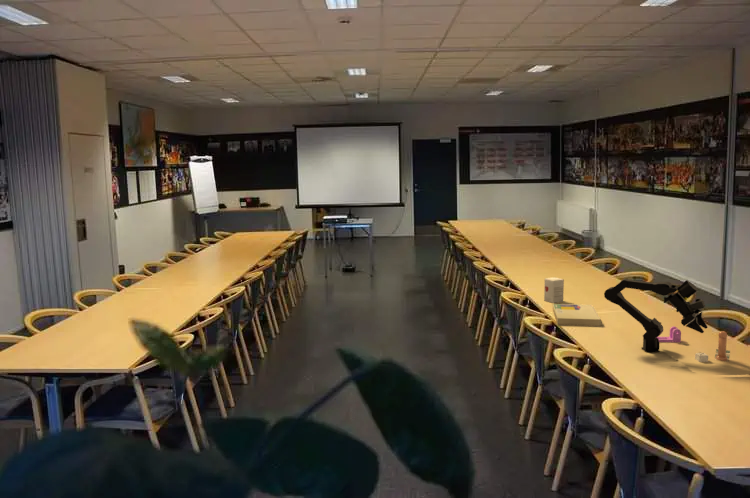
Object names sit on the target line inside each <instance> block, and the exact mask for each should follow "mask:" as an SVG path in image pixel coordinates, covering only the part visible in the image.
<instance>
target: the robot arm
mask: <svg viewBox="0 0 750 498" xmlns="http://www.w3.org/2000/svg"><path fill="white" fill-rule="evenodd" d="M625 289H632V290H640V291H647V292H648V291H649V292H652V293H654V294H657V295H660V296H664V297H663V303H664V304H666V303H668V302H669V303H670V305H672V306H673V307H674V308H675V309H676V310H675V311H676V313H679V314H680V315H681V316H682V319H681V321H680V324H681V325H683V327H686V328H690V329H691V330H694V331H696V332H698V333H700V334H704V333H705V330H704V329H708V327H709V326H708V325H707V323H706V322H705V320H704V318H703V309H705V308H706V304H705V301H704V300H703V299H701V298H700V297H698V298H696V299H695V301H693V302H690V301H688V300H687V301H686V299H689V298H690V297H692V296H693V295H695V294H696V293H698V291H699V289H698V287H697V286H696V285H695V284H694V283H692V282H691V281H689V280H688V279H686V280H685V281H684V282H682V284H680V285H677V284H672V283H671V282H669V281H656V282H649V281H641V280H634V279H629V278H623V279H622V280H621V281H620V282H618V283H617V284H616V285H615V286H611V287H608V288H607V289H606V290H605V291H604V293H603V294H604V295H603V296H604V298H605V300H606V301H608V302H610V303H613V304H614V305H617V306H618V307H620V308H621V309H622V310H624V311H625V312H626V313H627V314H628V315H630V316H631V317H632V318H634V320H636V321H637V322H638V323H639V324H640V325H641V326H642V327H643V329H644V331H646V332H644V333H643V334H642V337H643V339H642V341H643V342H642V347H641V349H642V350H643V351H644V352H646V353H660V352H661V350H660V344H661V342H659V339H658V338H657V337H660V335H661V334H662V333H663V332H664V326H663V325H662V322H660V321H659V320H657V318H655V317H654V318H649V317H648V316H647V315H645V314H644V313H643V312H642V311H641V310H639V309H638V308H637V307H636V306H634V305H633V304H632V303H631V302H630V301H629V300H627V298H625V296H624V294H623V292H622V291H623V290H625ZM685 298H686V299H685ZM703 328H704V329H703Z"/></svg>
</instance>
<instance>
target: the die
mask: <svg viewBox="0 0 750 498" xmlns="http://www.w3.org/2000/svg"><path fill="white" fill-rule="evenodd" d="M694 360H696V361H697V362H700V363H703V362H705V363H706V362H707V363H708V362H709V355H708V354H707V353H705V352H695V354H694Z"/></svg>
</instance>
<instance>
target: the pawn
mask: <svg viewBox="0 0 750 498" xmlns="http://www.w3.org/2000/svg"><path fill="white" fill-rule="evenodd" d="M717 335H718V345H717V346H718V348H717V349H718V355H716V359H717V360H716V361H722V362H723V361H724V362H727V361H726V360H727V356H726V350H727V341H728V338H727V337H728V332H726V330H725V331H724V330H721V331H719V332H718V334H717Z"/></svg>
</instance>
